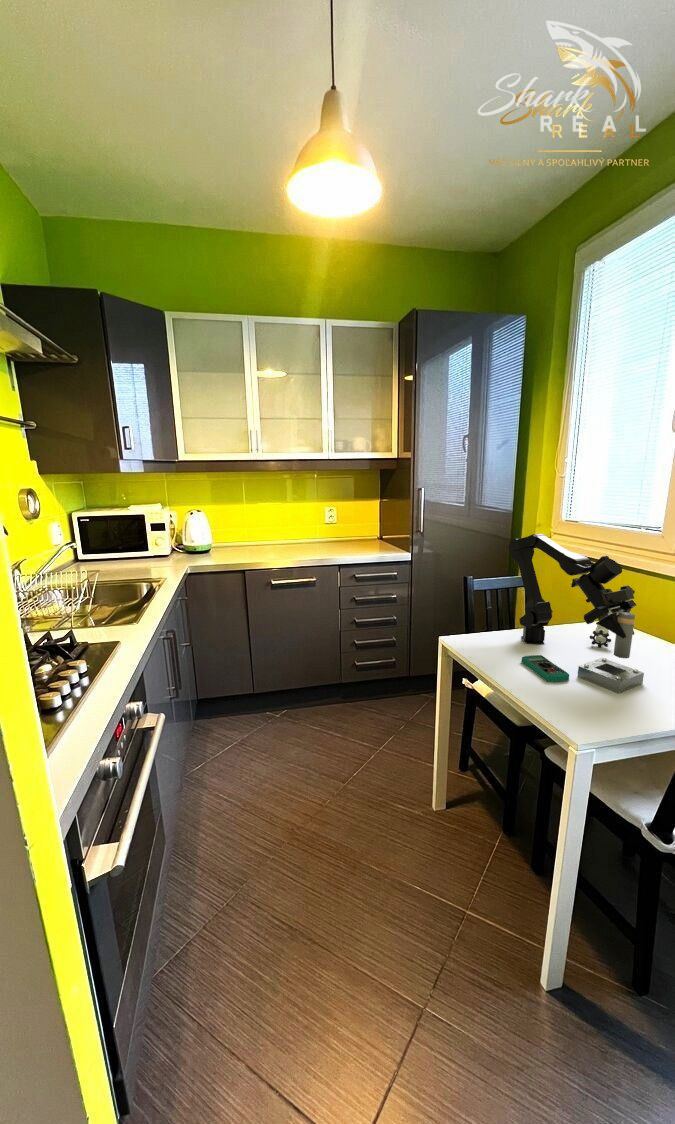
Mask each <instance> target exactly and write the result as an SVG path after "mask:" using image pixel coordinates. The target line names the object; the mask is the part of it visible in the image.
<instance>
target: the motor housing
mask: <svg viewBox="0 0 675 1124" xmlns="http://www.w3.org/2000/svg"><path fill="white" fill-rule="evenodd" d="M644 675H645V672H643V671H640V670H638V669H636V668H632V667H629V666H626V665H625V664H624V665H623V664H620V663H617V662H615V661H612V660H609V659H607V658H605V657H601V658H599V659H595V660H592V661H590V662H586V663H583V664H580V665H578V669H577V678H579V679H582V680H585V681H588V682H590V683H592V684H595V685H597V686H599V687H602V688H604V689H606V690H608V691H612V692H614V693H616V694H621V693H625V692H626V691H627V692H628V691H629V690H631V689H634V688H636V687H638V686H640V685H643V681H644V677H645V676H644Z"/></svg>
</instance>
